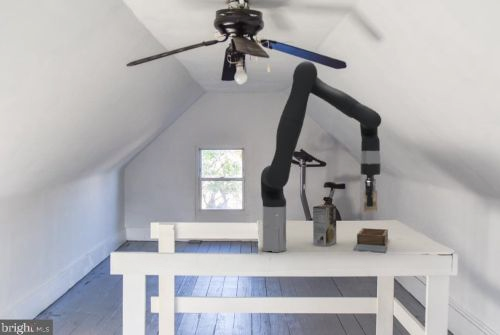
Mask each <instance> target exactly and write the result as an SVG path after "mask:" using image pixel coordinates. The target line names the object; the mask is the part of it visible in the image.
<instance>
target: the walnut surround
mask: <svg viewBox="0 0 500 335" xmlns="http://www.w3.org/2000/svg"><path fill="white" fill-rule="evenodd" d="M388 239H389V229H387V228H386V229H383V228H364V227H362V228H361V229H360V230H359V232H357V233H356V245H357V244H363V245H378V246H387V243H388V241H389V240H388Z"/></svg>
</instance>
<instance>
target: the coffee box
mask: <svg viewBox="0 0 500 335" xmlns="http://www.w3.org/2000/svg"><path fill="white" fill-rule="evenodd" d="M312 208H313V209H312V210H313V211H312V213H313V215H312V219H313V220H312V222H313V225H312V226H313V228H312V230H313V234H312V235H313V237H312V238H313V239H312V240H313V242H312V243H313V246H318V247H329V246H331V245H335V244H337V206H336V205H332V204H320V205H315V206H313V207H312Z"/></svg>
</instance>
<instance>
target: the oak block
mask: <svg viewBox="0 0 500 335" xmlns="http://www.w3.org/2000/svg"><path fill="white" fill-rule="evenodd" d="M368 192H371V191H368ZM365 193H366V190H365V189H364V191H363V212H365V213H366V212H369V213H371V212H372V213H377V212H378V190H375V191H373V206H372V207H368V206H367V197H366V195H365Z"/></svg>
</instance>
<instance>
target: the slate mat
mask: <svg viewBox="0 0 500 335" xmlns="http://www.w3.org/2000/svg"><path fill="white" fill-rule="evenodd" d="M353 250H359V251H358V252H364V251H371V252H370V253H379V254H380V253H381V254H386V252H387V250H388V246H387V245H386V246H378V245H363V244H357V243H356V244H355V246H354V247H353ZM353 250H352V251H353Z"/></svg>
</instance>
